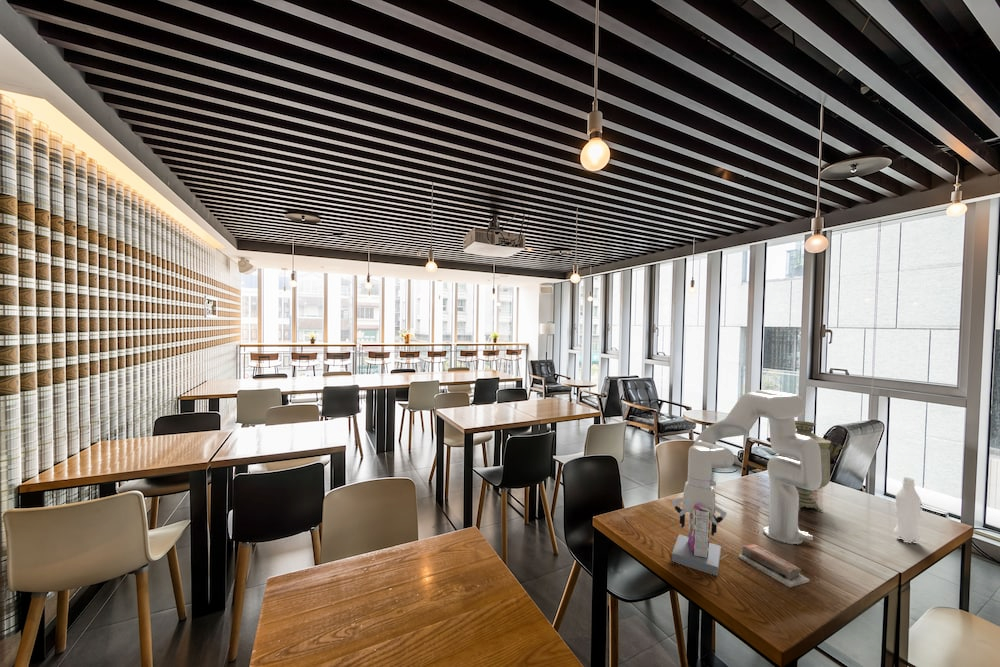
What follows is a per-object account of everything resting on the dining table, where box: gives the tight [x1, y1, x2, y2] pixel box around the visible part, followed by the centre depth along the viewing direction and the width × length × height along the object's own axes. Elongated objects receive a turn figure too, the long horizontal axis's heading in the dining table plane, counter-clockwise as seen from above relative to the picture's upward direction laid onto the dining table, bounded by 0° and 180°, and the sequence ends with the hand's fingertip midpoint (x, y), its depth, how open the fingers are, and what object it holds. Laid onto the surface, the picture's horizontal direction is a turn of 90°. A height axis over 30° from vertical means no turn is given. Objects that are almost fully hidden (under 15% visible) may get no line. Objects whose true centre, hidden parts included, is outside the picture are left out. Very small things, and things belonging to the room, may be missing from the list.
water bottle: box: [893, 476, 922, 543], centre depth 157 cm, size 7×7×25 cm
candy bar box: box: [687, 505, 711, 558], centre depth 139 cm, size 11×5×16 cm, turn 163°
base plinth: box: [671, 533, 722, 577], centre depth 139 cm, size 14×16×3 cm
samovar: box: [765, 420, 845, 512], centre depth 185 cm, size 30×26×40 cm
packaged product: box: [738, 543, 810, 588], centre depth 134 cm, size 18×5×10 cm
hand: (697, 529), depth 139 cm, fingers open, 9 cm apart
